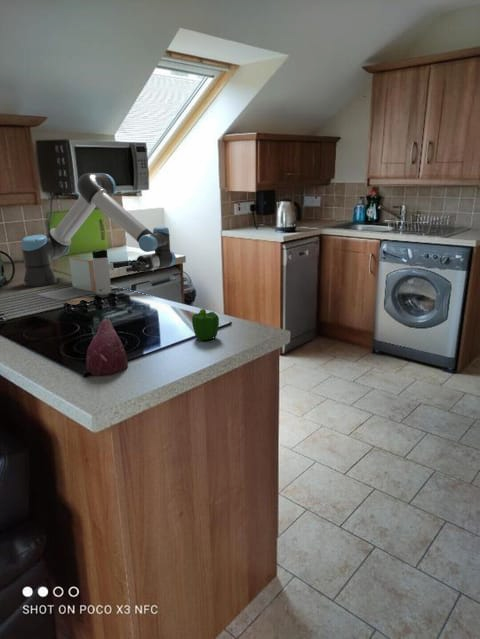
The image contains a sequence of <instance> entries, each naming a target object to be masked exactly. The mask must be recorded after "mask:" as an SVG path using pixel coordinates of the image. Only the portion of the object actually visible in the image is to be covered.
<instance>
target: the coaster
mask: <svg viewBox="0 0 480 639" xmlns="http://www.w3.org/2000/svg"><path fill="white" fill-rule="evenodd" d="M94 298H95V297H91V296H89V297H87V296H86V297H83V296H82V297H74V298H70V299H69V300H67V301H66V302H65V304H66V303H68V304H71V305H70V306H72V305H77V304H79V303H80V301H81V300H85V301H87V302H90V301H93V300H94Z"/></svg>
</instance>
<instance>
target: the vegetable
mask: <svg viewBox="0 0 480 639" xmlns="http://www.w3.org/2000/svg"><path fill="white" fill-rule="evenodd" d="M126 353H127V352H126V350H125V347H124V345H123V343H122V341H121V339H120V337H119V336H118V334H117V332H116V330H115V328H114V326H113V324H112V322H111V320H110V318H108V316H105V317H104V318H103V319H102V321H101V322H100V324H99V326H98V329H97V332H96V333H95V334H94V337H93V338H92V339H91V342H90V344H89V345H88V348H87V352H86V358H85V362H86V363H85V366H86V371H88V372H90V373H91V374H92V376H95V377H104V376H111V375H114V374H118V373H121V372H123V371H126V369H128V367H129V365H128V358H127V354H126ZM88 372H87V373H88ZM91 374H90V375H91Z"/></svg>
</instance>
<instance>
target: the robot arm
mask: <svg viewBox="0 0 480 639" xmlns="http://www.w3.org/2000/svg"><path fill="white" fill-rule="evenodd" d="M116 185H117V184H116V182H115V180H114V178H113V177H112V176H111V175H110V174H107V173H103V172H86V173H83V174H82V175H81V176H80V177H79V178H78V181H77V185H76V186H77V187H76V188H77V192H78V193H79V195H80V196H79V197H78V198H77V200H76V201H75V202H74V204H73V205H72V206H71V208H70V209H69V210H68V212H67V213H66V214H65V216H64V217H63V218H62V220H61V221H60V222H59V223H58V225H57V226H56V227H55V228H50V230H49V231H48V232H47V233H46V235H45V234H33V235H28V236H25V237H23V238H22V239H21V242H20V243H21V250H22V256H23V257H22V258H23V262H24V270H25V271H24V275H23V282H22V283H23V286H24V287H29V288H36V287H38V288H39V287H45V286H47V287H48V286H51V285H56V283H57V281H58V280H57V277H56V275H55V273H54V271H53V269H52V266H51V260H54V259H59V258H62V257H64V256H65V255H67V254H68V253H69V251H70V248H71V246H70V245H71V244H72V238H73V236H74V235H75V234H76V233H77V231H78V230H79V229H80V228H81V226H83V224H84V222H85V221H86V220H87V218H89V216H90V215H91V214H92V213H93V211H94V210H95V208H98V210H100V212H102V213H103V214H104V215H106V216H107V218H109V219H110V220H111V221H113V222H114V223H115V224H116V225H117V226H119V227H120V228H121V229H122V230H123V231H124V232H125V233H127V234H128V235H129V236H130V237H131V238H132V239H133V240H135V241H136V242H137V243H138V246H139V248H140V250H141V251H143V252H146V253H148V252H150V253H149V254H143V255H142V254H141V255H138V256H137V258H136V259H132V260H131V259H129V260H119V261H110V262H108V264H109V271H110V270H112V271H114V270H115V269H118V274H119V275H124V274H128V273H129V274H130V273H135V272H137V273H140V272H141V273H142V272H143V273H144V272H149V271H152V272H154V270H159V269H164V268H169V267H172V266H174V265H175V263H176V260H177V257H176V255H175V252H173V251H172V250H171V239H170V231H169V228H168V227H167V226H157V227H154V228H153V231H150V229H148V228H147V227H146V226H145V225H144V224H143V223H141V222H140V221H139V220H138V219H137V218H136V217H135V216H133V215H132V214H131V213H130V212H129V211H128V210H126V209H125V208H124V207H123V206H122V205H121V204H120V203H118V202H117V201H116V200H115V199H114V198H113V196H114V195H115V194H116V191H117V186H116ZM151 252H154V253H151Z"/></svg>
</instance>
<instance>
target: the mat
mask: <svg viewBox="0 0 480 639" xmlns="http://www.w3.org/2000/svg"><path fill="white" fill-rule="evenodd" d="M92 294H97V292H96V291H95V292H90V291H86V290H81V289H77V288H73V286H70V287H64V288H59V289H54V290H49V291H45V292H40V293H36V295H38V296H42V297H44V298H45V297H46V298H49V299H51V300H57V301H63V300H67V299H69V300H70V299H74V298H79V297H83V296H86V295H92Z"/></svg>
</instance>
